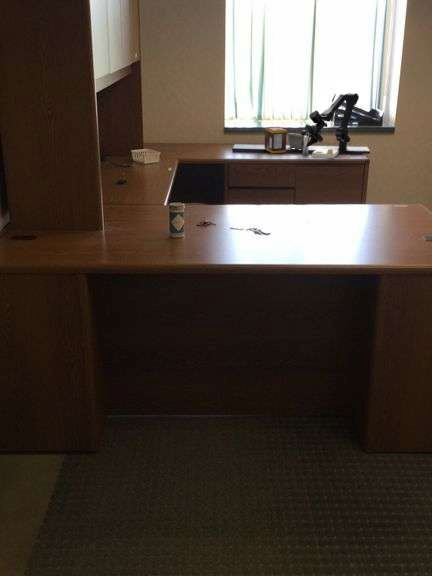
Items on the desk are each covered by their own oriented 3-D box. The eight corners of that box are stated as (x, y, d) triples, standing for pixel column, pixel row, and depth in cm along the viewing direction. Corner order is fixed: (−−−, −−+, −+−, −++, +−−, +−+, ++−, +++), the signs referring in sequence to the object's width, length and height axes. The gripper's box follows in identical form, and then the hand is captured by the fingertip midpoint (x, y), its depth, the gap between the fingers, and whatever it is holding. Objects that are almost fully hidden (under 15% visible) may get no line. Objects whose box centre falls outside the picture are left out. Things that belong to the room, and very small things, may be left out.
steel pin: (303, 154, 434) (304, 135, 428) (308, 155, 432) (309, 135, 427) (302, 155, 430) (303, 136, 425) (307, 156, 429) (308, 136, 424)
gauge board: (317, 152, 441) (318, 144, 439) (338, 153, 436) (338, 146, 434) (312, 156, 428) (312, 149, 426) (333, 158, 423) (333, 150, 421)
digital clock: (310, 149, 449) (310, 134, 444) (301, 151, 444) (301, 136, 439) (293, 146, 460) (294, 131, 456) (285, 147, 455) (285, 132, 451)
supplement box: (277, 148, 454) (278, 126, 447) (286, 152, 440) (287, 129, 434) (264, 149, 451) (264, 127, 444) (272, 153, 437) (273, 130, 431)
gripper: (303, 118, 431) (289, 136, 430) (321, 122, 416) (307, 140, 416) (311, 128, 438) (298, 146, 437) (329, 132, 423) (315, 151, 423)
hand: (304, 145), depth 428 cm, fingers open, 5 cm apart
